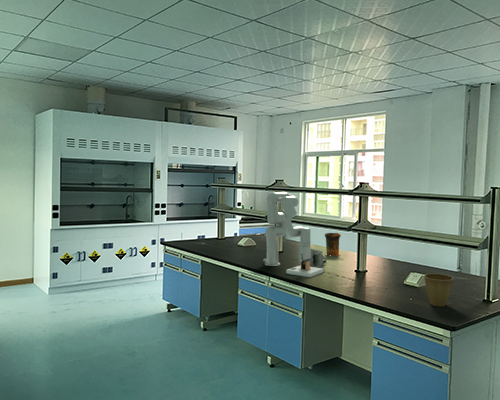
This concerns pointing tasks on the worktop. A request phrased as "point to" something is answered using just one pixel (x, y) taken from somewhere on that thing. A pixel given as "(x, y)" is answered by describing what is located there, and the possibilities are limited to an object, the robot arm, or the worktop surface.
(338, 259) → the worktop surface
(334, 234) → the vessel
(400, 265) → the worktop surface
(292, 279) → the worktop surface
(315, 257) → the geiger counter
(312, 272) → the socket plate
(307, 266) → the plug
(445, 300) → the plant pot
